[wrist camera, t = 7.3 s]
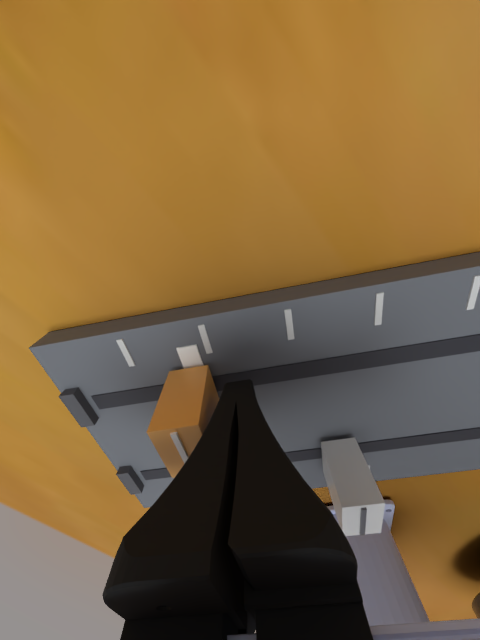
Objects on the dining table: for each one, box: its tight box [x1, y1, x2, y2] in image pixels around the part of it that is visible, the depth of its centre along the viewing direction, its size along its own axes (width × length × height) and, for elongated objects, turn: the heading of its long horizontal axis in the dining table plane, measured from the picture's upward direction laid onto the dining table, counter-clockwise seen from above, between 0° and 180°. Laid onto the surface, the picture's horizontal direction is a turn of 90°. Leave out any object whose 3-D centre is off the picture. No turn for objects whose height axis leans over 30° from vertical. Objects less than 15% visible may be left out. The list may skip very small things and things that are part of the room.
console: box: [29, 252, 480, 508], centre depth 15 cm, size 15×25×2 cm, turn 101°
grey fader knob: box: [321, 437, 385, 536], centre depth 14 cm, size 3×2×4 cm, turn 11°
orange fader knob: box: [147, 365, 219, 478], centre depth 11 cm, size 3×2×4 cm, turn 11°
